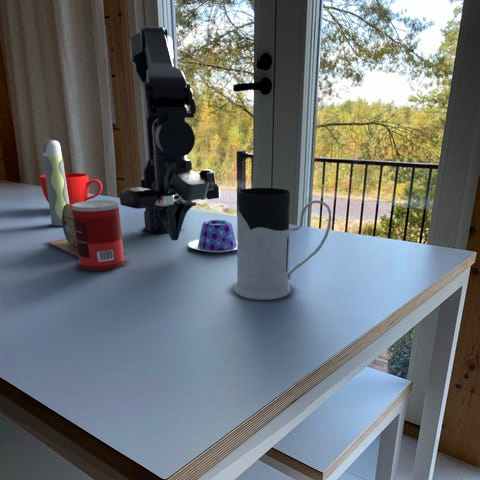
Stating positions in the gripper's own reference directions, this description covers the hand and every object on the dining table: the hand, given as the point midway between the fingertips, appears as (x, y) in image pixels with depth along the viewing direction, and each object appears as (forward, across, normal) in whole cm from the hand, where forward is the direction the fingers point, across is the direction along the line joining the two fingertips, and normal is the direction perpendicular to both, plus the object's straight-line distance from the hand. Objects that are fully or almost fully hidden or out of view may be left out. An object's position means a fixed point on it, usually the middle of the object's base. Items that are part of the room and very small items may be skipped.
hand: (174, 240), depth 90 cm
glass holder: (+3, +1, -27) cm, 27 cm away
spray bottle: (+4, -4, +44) cm, 44 cm away
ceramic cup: (+4, +8, +60) cm, 60 cm away
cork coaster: (+3, -10, +18) cm, 21 cm away
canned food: (+3, -13, +4) cm, 14 cm away
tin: (+3, -10, +18) cm, 21 cm away
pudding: (+3, +11, 0) cm, 11 cm away
